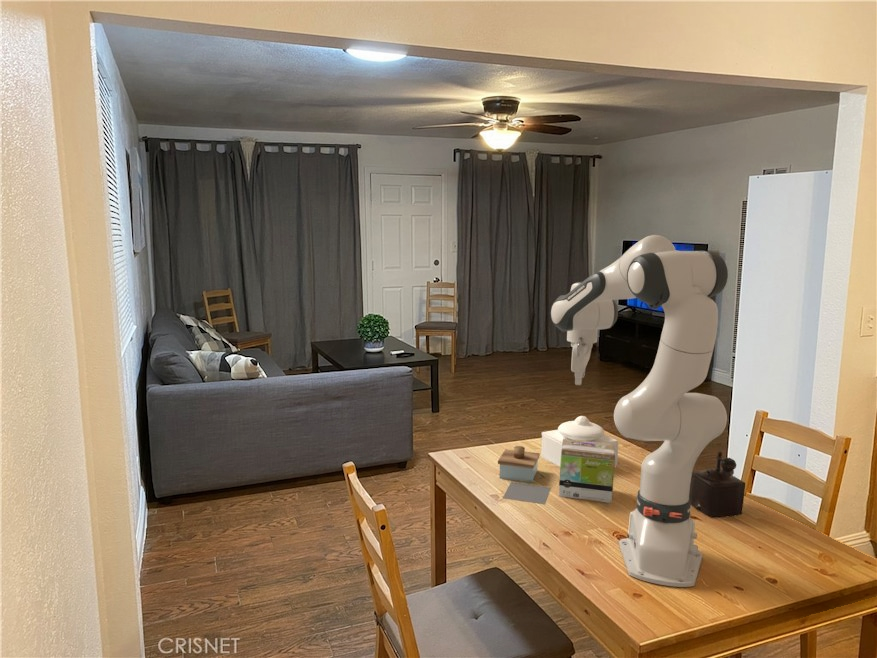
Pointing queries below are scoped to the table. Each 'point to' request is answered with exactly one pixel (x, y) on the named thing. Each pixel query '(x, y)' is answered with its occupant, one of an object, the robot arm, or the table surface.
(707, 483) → the coffee grinder
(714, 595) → the table surface
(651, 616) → the table surface
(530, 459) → the lid
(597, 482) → the tea box
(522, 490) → the mat
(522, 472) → the dish
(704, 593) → the table surface
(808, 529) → the table surface
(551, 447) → the white lidded container
